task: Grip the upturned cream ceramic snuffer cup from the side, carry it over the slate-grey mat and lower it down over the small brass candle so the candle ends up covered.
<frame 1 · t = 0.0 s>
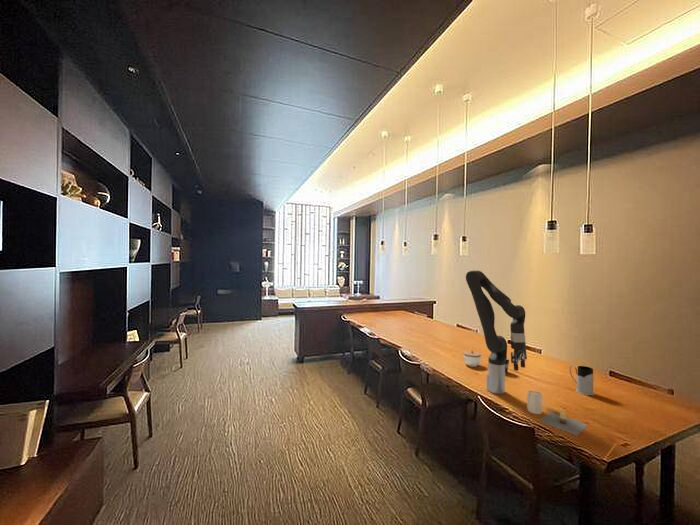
hand: (519, 368, 180), 17 cm above the table, tool pointing down, fingers open, 8 cm apart
glass holder: (580, 391, 192), on the table
brass candle: (562, 422, 152), resting on slate mat
snuffer cup: (534, 412, 164), on the table
slate mat: (562, 424, 152), on the table
lidded bowl: (472, 365, 238), on the table
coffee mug: (500, 372, 224), on the table
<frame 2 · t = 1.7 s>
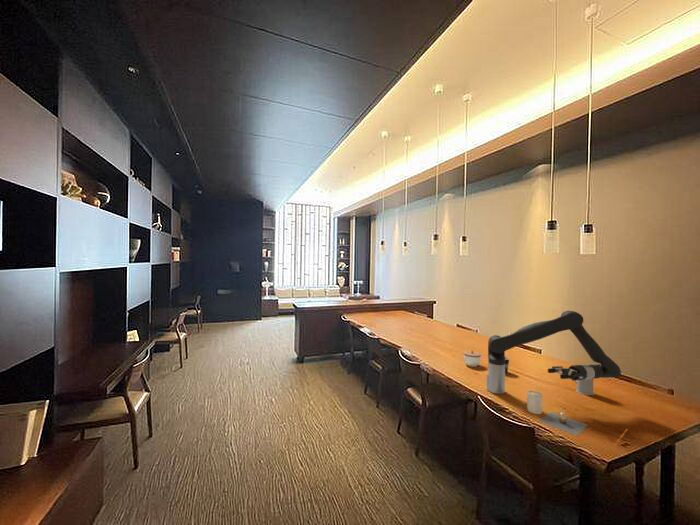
hand: (554, 373, 166), 20 cm above the table, tool horizontal, fingers open, 8 cm apart
nothing on the table moved.
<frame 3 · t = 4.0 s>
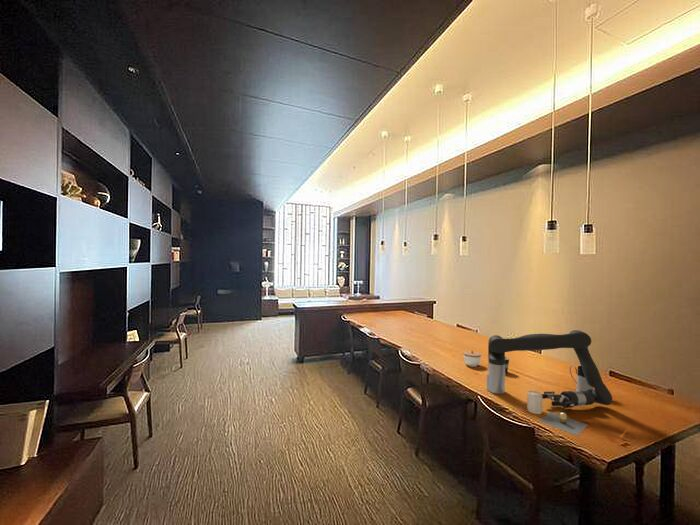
hand: (545, 400, 165), 6 cm above the table, tool horizontal, fingers open, 8 cm apart
nothing on the table moved.
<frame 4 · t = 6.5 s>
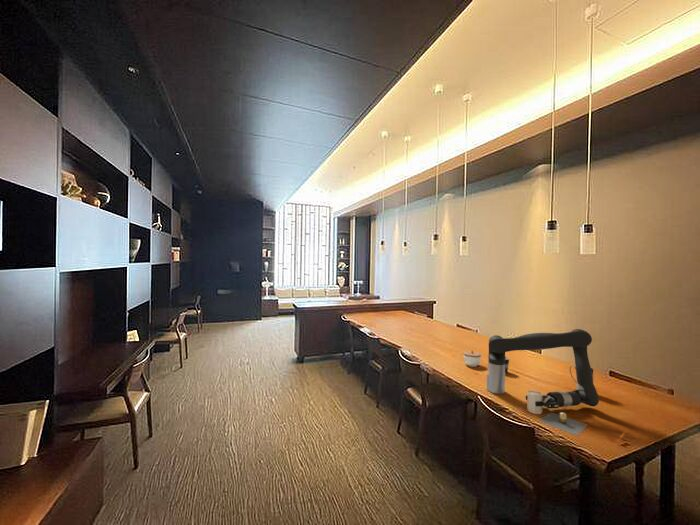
hand: (530, 400, 164), 6 cm above the table, tool horizontal, fingers closed on snuffer cup, 6 cm apart
snuffer cup: (534, 412, 164), on the table, touching gripper
everything else where it was.
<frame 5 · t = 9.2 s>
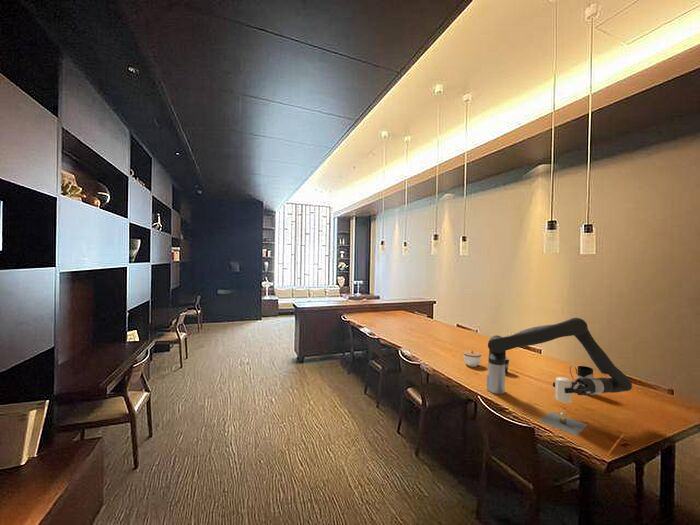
hand: (559, 387, 152), 18 cm above the table, tool horizontal, fingers closed on snuffer cup, 6 cm apart
snuffer cup: (563, 399, 152), point 12 cm above the table, touching gripper
everything else where it was.
when the fingers open (8 cm above the table, at t = 12.4 s): snuffer cup drops 1 cm, resting on slate mat.
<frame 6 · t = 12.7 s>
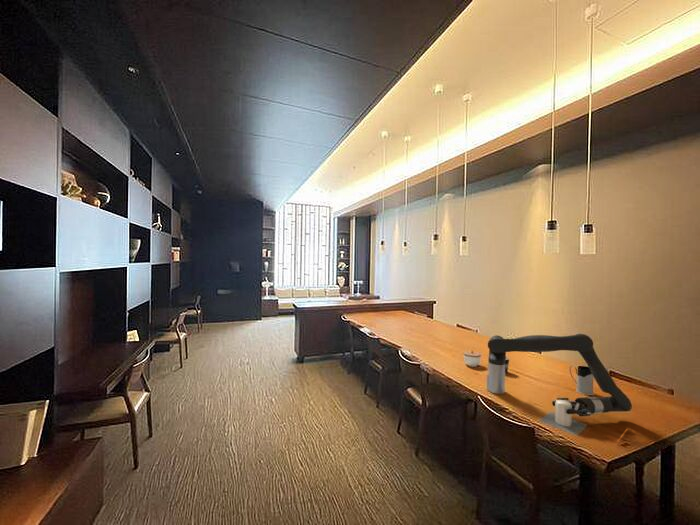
hand: (559, 407, 152), 8 cm above the table, tool horizontal, fingers open, 8 cm apart
snuffer cup: (563, 422, 152), point 1 cm above the table, touching slate mat
everything else where it was.
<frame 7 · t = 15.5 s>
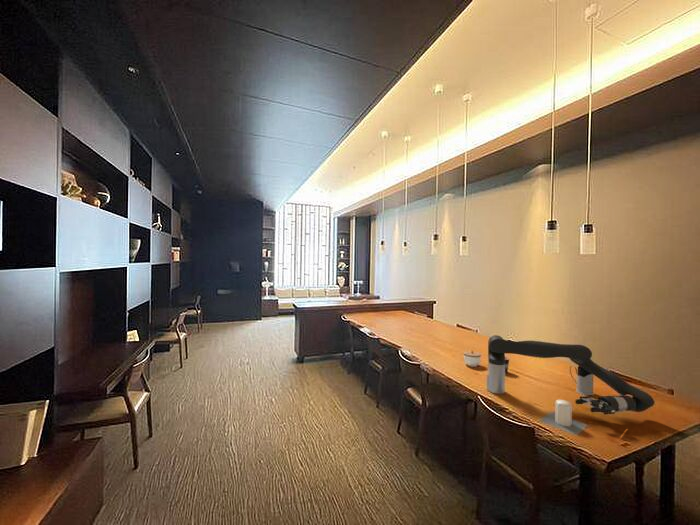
hand: (583, 405, 154), 8 cm above the table, tool horizontal, fingers open, 8 cm apart
nothing on the table moved.
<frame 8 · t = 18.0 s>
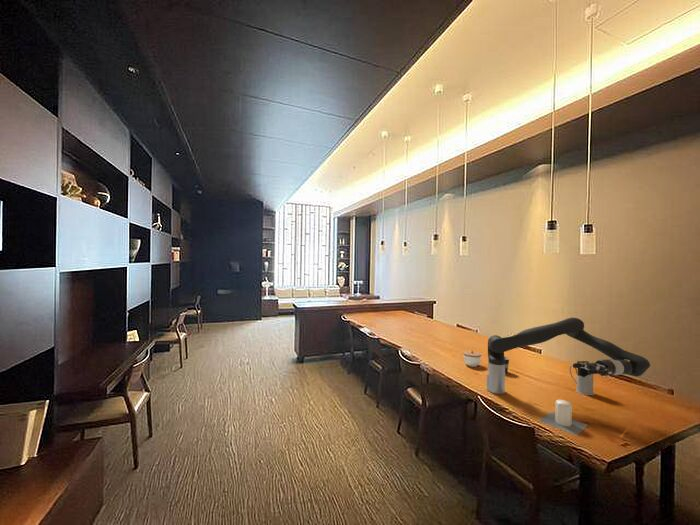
hand: (580, 368, 155), 26 cm above the table, tool horizontal, fingers open, 8 cm apart
nothing on the table moved.
at the end: snuffer cup 0.1 cm off-centre on the brass candle, point 0.0 cm above the brass candle's base; snuffer cup tilted 0°; the gripper is holding nothing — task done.
